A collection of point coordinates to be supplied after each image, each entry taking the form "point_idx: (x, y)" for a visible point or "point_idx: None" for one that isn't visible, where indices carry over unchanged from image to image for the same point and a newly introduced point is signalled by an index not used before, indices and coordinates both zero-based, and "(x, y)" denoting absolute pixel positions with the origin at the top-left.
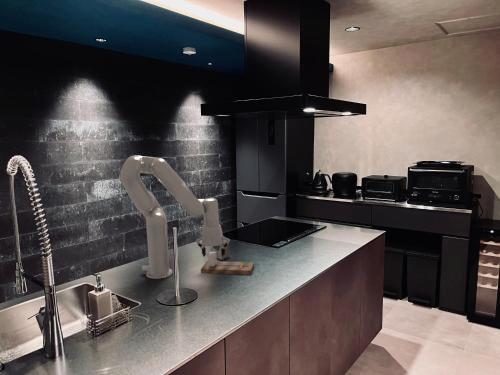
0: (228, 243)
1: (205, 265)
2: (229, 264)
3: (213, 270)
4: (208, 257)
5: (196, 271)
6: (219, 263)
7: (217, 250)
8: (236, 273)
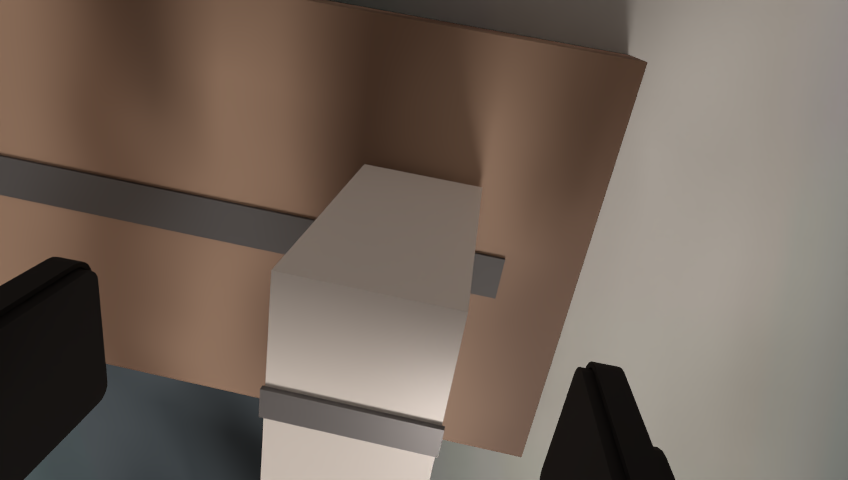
0: None
1: (542, 258)
2: (118, 250)
3: (373, 12)
4: (461, 264)
5: (711, 145)
6: None
7: None
8: None
